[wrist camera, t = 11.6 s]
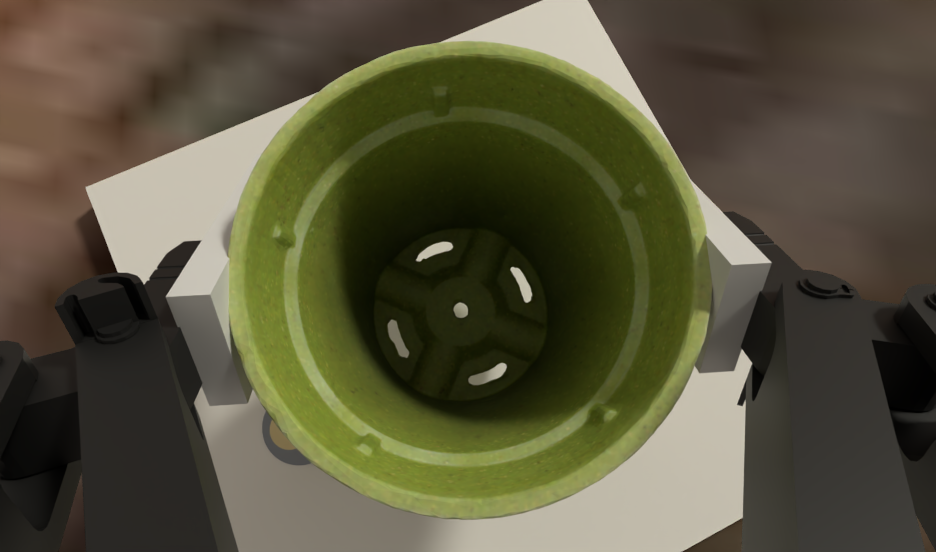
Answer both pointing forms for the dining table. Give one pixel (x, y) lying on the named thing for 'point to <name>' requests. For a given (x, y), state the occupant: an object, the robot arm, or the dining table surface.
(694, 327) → the plant pot
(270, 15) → the dining table surface
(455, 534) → the pin board
